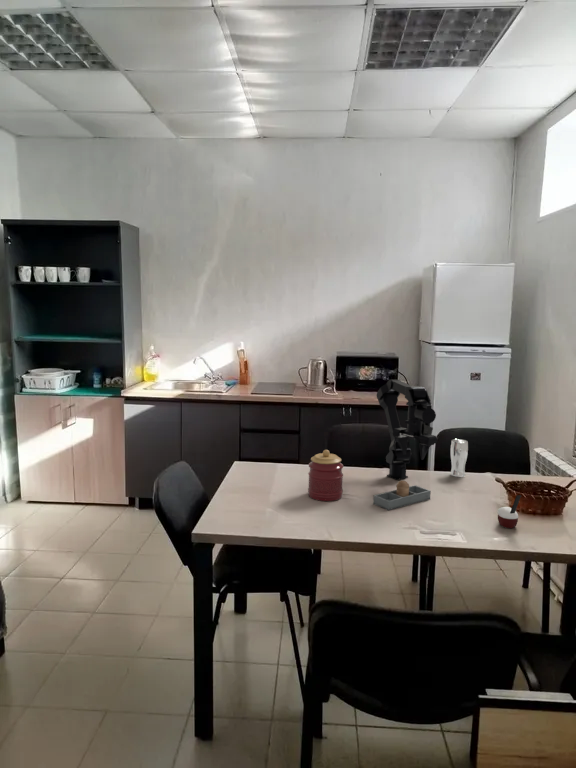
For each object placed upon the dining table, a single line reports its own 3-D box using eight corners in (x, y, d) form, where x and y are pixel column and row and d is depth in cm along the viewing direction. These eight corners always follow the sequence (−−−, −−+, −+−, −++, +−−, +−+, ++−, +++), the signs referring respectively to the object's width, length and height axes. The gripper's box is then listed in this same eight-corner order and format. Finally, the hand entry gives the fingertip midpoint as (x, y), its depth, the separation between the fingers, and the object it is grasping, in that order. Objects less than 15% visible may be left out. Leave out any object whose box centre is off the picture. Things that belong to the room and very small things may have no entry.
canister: (302, 497, 201) (302, 451, 199) (316, 488, 213) (317, 444, 210) (334, 504, 195) (335, 456, 193) (347, 493, 207) (349, 448, 204)
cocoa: (495, 521, 182) (495, 486, 181) (515, 522, 181) (515, 487, 180) (500, 531, 173) (501, 494, 172) (521, 532, 172) (522, 495, 171)
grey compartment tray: (373, 503, 196) (373, 495, 196) (414, 493, 208) (415, 485, 208) (388, 510, 190) (388, 501, 189) (430, 499, 202) (430, 490, 202)
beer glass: (445, 473, 234) (447, 439, 232) (458, 472, 236) (460, 438, 234) (457, 478, 227) (459, 443, 225) (469, 476, 230) (471, 442, 228)
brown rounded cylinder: (393, 499, 199) (394, 480, 198) (402, 497, 202) (403, 478, 201) (402, 502, 196) (403, 483, 195) (411, 500, 198) (411, 481, 197)
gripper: (448, 420, 209) (445, 459, 211) (411, 412, 225) (409, 449, 227) (428, 423, 203) (426, 463, 205) (392, 415, 218) (390, 452, 220)
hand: (413, 457), depth 214 cm, fingers open, 9 cm apart
